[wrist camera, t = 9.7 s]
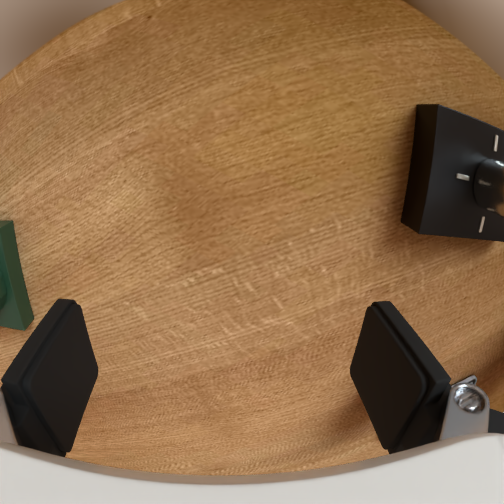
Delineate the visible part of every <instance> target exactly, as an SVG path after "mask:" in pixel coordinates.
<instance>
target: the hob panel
mask: <svg viewBox="0 0 504 504" xmlns="http://www.w3.org/2000/svg"><path fill="white" fill-rule="evenodd" d="M487 159H496V160H500V161H503V162H504V131H503V130H501V129H499V128H497V127H495V126H492V125H490V124H488V123H485V122H483V121H481V120H478V119H476V118H473V117H471V116H468V115H466V114H463V113H461V112H458V111H455V110H453V109H450V108H447V107H444V106H442V105H439V104H418V105H417V110H416V122H415V132H414V141H413V149H412V157H411V164H410V171H409V178H408V184H407V190H406V196H405V202H404V207H403V212H402V218H401V223H403V224H405V225H406V226H408V227H409V228H411V229H412V230H414V231H415V232H417V233H418V234H426V235H438V236H449V237H461V238H471V239H482V240H492V241H501V242H504V218H503V217H501V216H499V215H497V214H494V213H492V212H490V211H488V210H486V209H484V208H482V207H481V206H480V205H479V204H478V203H477V201H476V199H475V195H474V178H475V174H476V171H477V169H478V167H479V166H480V164H481V163H482V162H483V161H485V160H487Z"/></svg>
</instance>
